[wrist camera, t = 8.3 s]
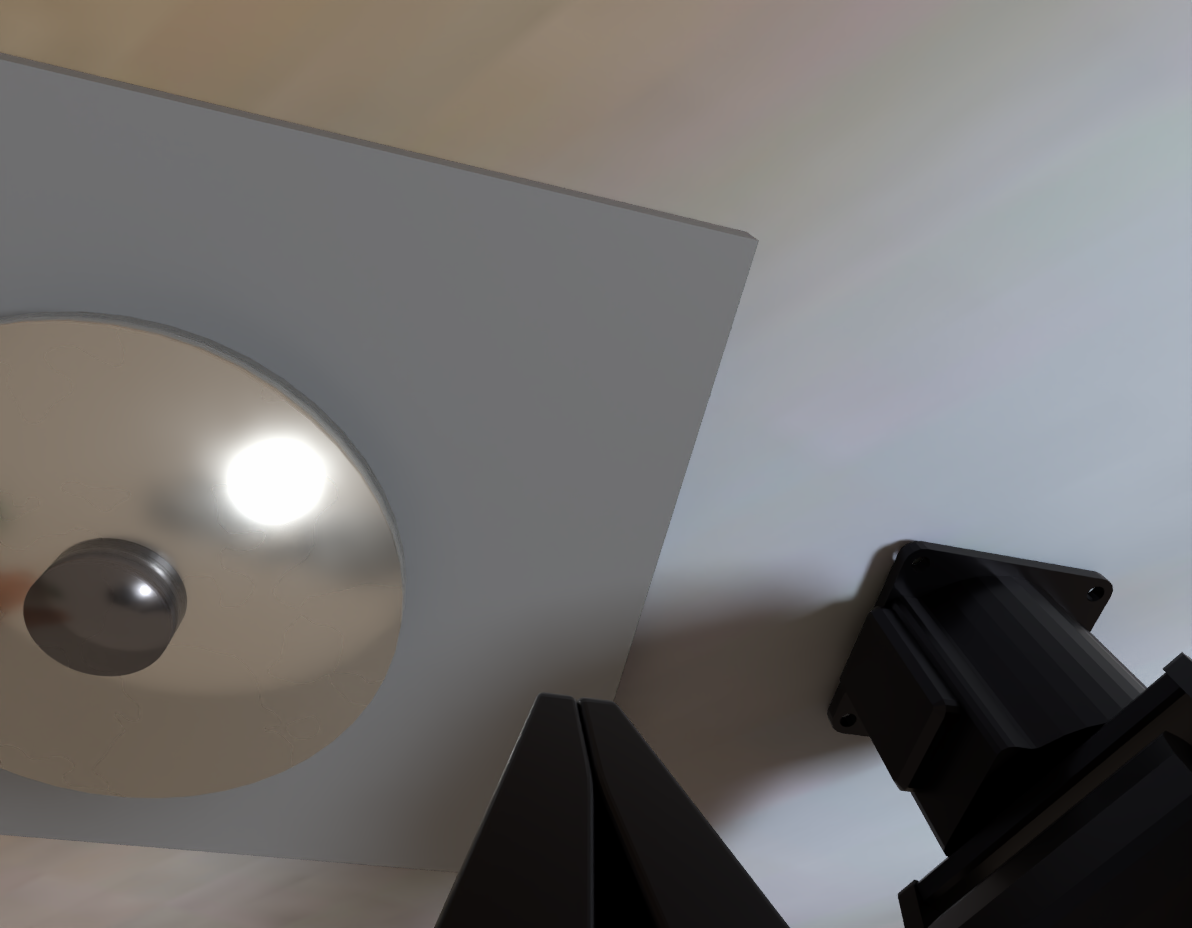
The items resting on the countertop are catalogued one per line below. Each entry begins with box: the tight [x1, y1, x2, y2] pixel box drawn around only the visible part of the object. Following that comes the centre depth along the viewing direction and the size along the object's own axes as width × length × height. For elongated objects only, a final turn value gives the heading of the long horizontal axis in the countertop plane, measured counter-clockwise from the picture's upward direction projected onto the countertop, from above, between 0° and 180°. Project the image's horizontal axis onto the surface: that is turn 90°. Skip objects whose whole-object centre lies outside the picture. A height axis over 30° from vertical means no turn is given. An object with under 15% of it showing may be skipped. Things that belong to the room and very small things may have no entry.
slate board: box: [0, 53, 759, 873], centre depth 18 cm, size 24×20×5 cm
